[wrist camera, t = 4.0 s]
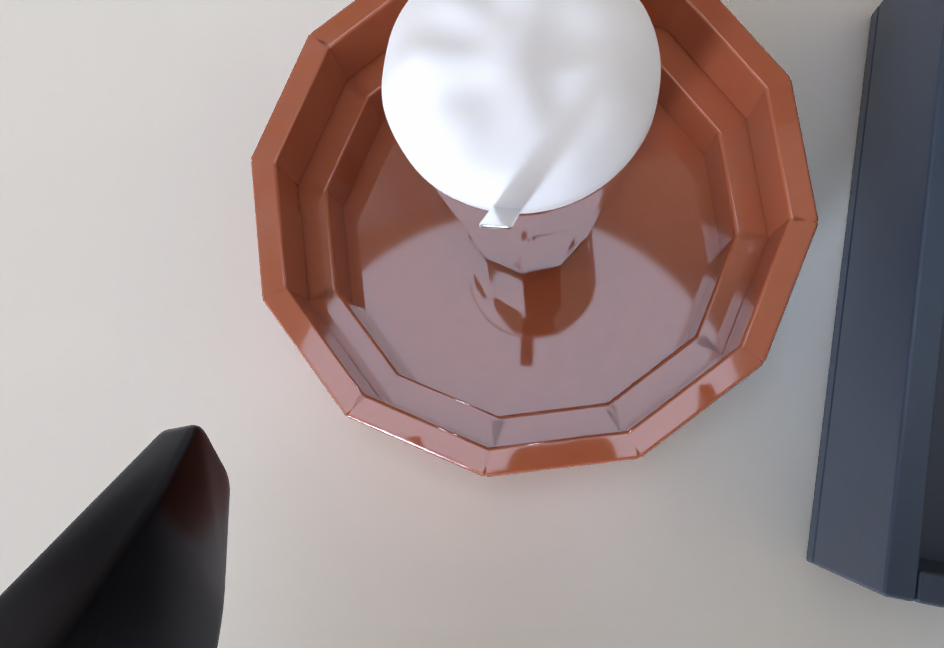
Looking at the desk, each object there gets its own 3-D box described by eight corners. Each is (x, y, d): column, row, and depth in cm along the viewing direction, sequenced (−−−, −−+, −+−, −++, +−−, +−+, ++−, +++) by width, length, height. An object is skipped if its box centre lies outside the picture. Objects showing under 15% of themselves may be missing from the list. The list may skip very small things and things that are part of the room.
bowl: (482, 564, 20) (469, 589, 17) (215, 194, 22) (154, 148, 19) (867, 269, 20) (933, 234, 17) (568, -70, 22) (572, -164, 19)
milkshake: (430, 321, 21) (328, 215, 11) (452, 125, 22) (375, -139, 12) (605, 338, 20) (663, 242, 11) (623, 137, 21) (691, -128, 11)
